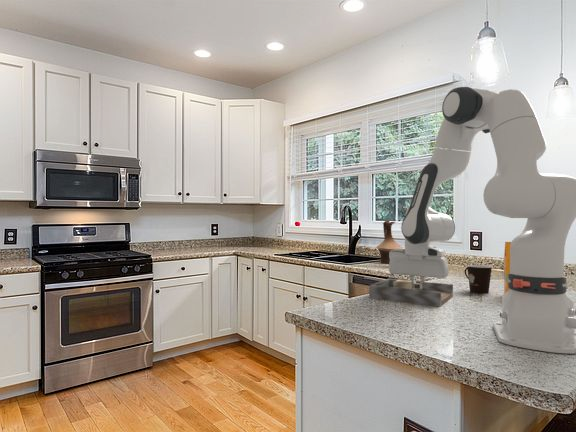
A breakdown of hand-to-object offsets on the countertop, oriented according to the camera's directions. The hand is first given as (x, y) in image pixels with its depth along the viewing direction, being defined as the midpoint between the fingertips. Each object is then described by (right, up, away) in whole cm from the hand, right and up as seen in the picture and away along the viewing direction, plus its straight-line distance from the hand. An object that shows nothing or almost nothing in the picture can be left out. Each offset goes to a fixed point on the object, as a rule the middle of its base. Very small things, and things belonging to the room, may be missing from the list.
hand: (417, 288), depth 136 cm
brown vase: (+20, -5, +114) cm, 116 cm away
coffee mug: (+28, -4, +13) cm, 31 cm away
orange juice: (+36, -4, 0) cm, 37 cm away
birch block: (-4, -2, +2) cm, 5 cm away
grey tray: (-2, -3, +1) cm, 4 cm away
